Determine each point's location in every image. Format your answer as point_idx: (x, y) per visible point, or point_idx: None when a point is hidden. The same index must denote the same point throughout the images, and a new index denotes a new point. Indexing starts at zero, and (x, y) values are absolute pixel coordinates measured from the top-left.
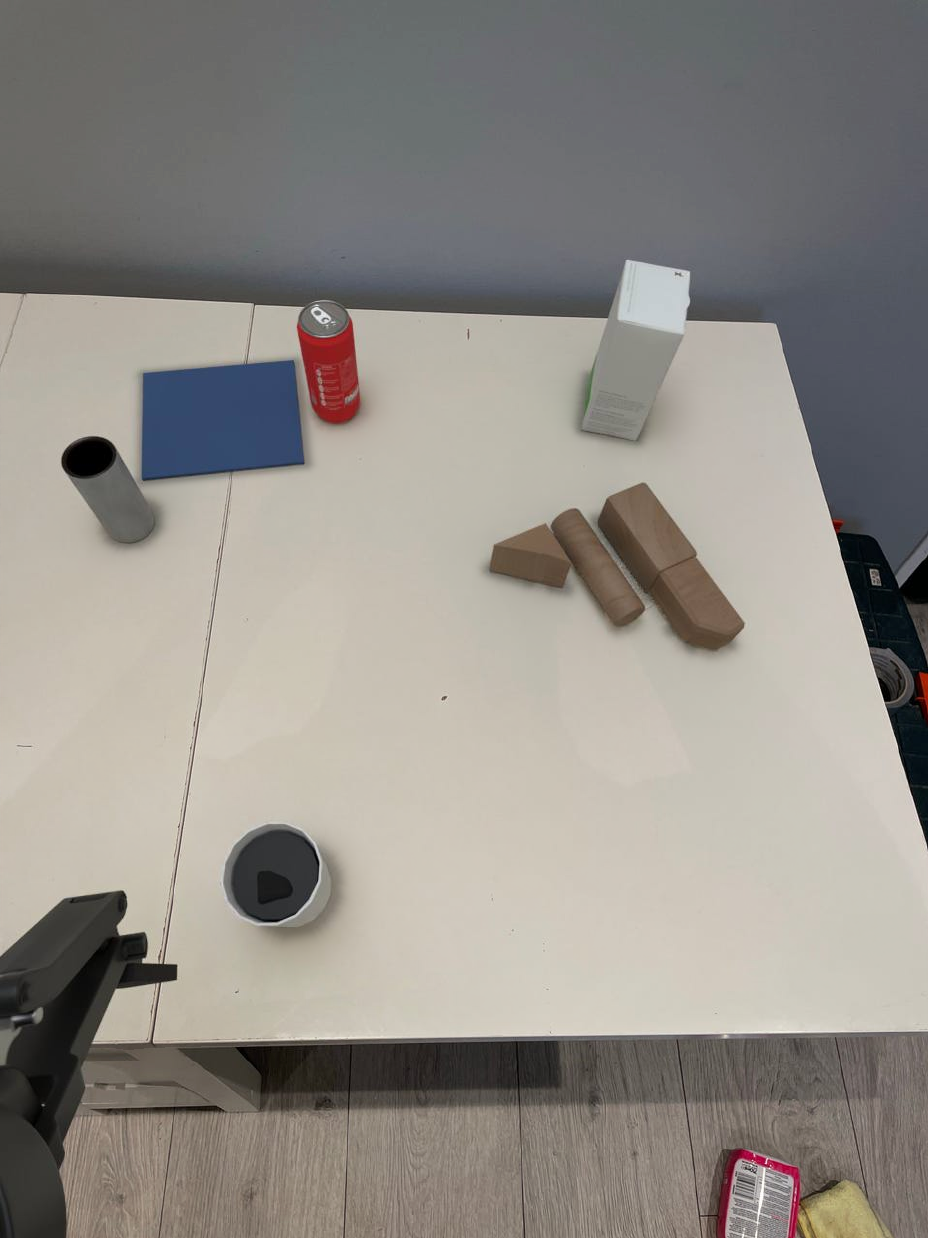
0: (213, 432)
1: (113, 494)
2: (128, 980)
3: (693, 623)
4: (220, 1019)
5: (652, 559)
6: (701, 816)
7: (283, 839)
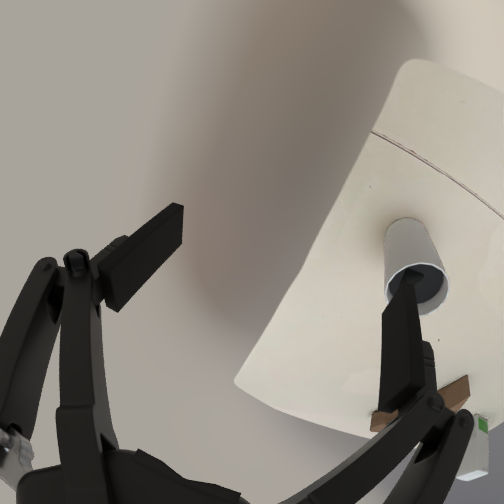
0: None
1: None
2: (381, 409)
3: (384, 423)
4: (359, 171)
5: None
6: (322, 384)
7: (431, 293)
